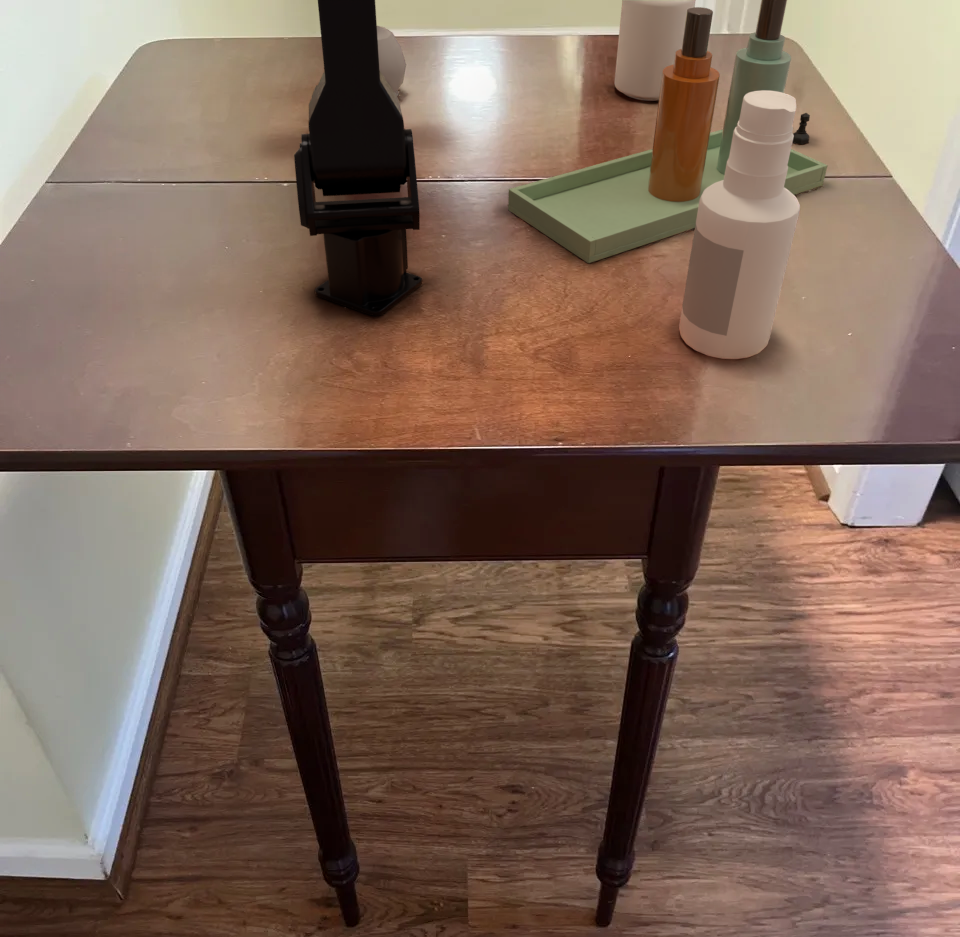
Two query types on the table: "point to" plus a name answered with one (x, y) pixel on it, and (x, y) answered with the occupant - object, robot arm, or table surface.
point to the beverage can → (648, 44)
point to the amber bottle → (685, 114)
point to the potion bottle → (390, 58)
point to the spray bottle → (743, 236)
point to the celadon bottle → (756, 69)
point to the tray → (626, 202)
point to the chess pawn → (802, 131)
